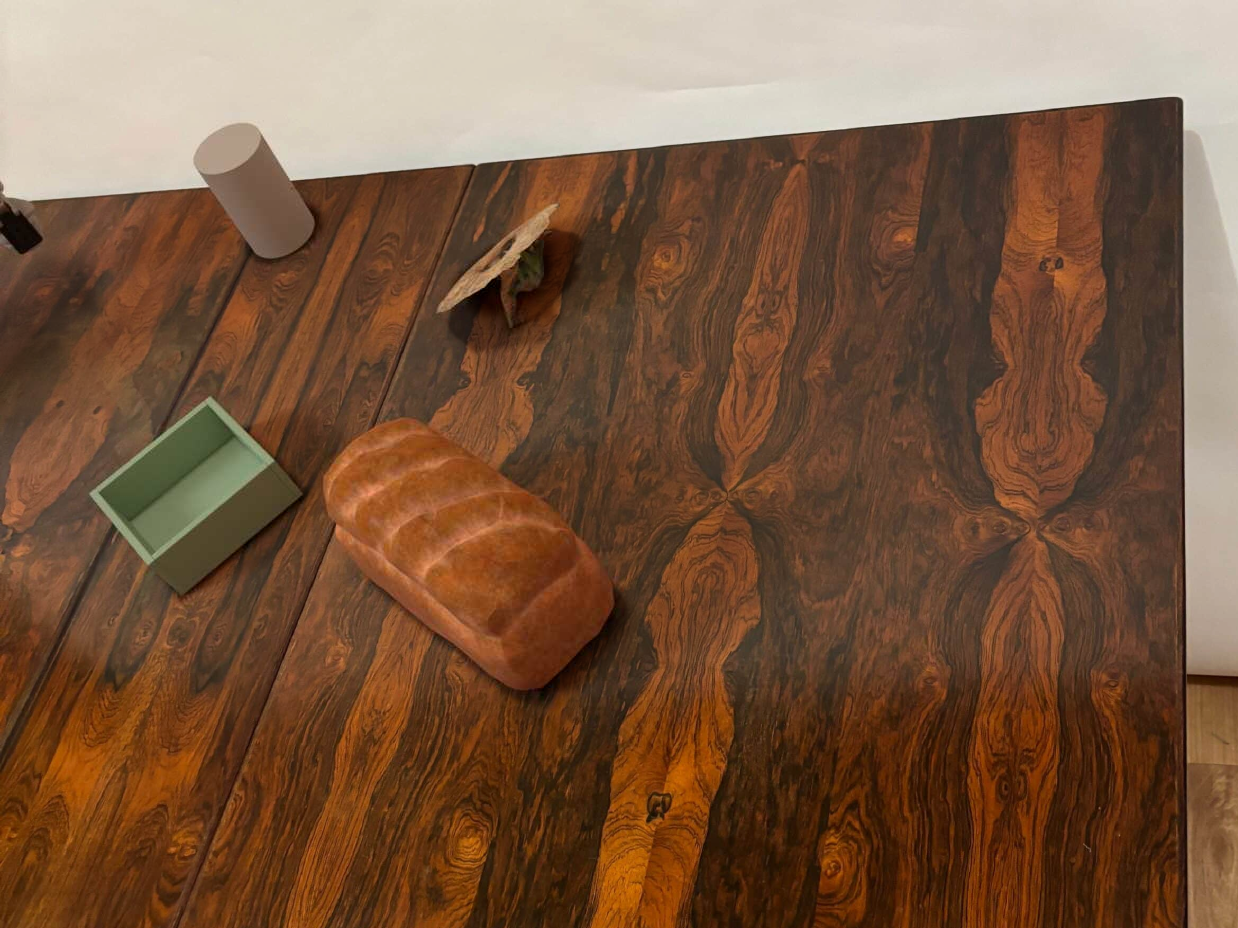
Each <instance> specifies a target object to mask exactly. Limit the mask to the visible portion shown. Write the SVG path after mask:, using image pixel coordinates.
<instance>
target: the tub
mask: <svg viewBox="0 0 1238 928" xmlns="http://www.w3.org/2000/svg"><path fill="white" fill-rule="evenodd" d="M88 495H89V496H90V497H91V498H92V500H93V501H94V502H95V503H96V505H98V507H99V509H101V510H102V511H103V513H104V514H105V515H106V517H107V518H108V519H109V520H110V521H111V523H112V524H113V525H114V526H115V528H116V529H117V530H118V531H119V532H120V534H121V535H122V536H123V537H124V539H125V540H126V541H127V542H128V543H129V544H130V546H131V547H132V549H134V550H135V552H136V553H137V554H138V556H139V557H140V558H141V559H142V560H143V562H144V563H145V564H146V565H147V566H148V567H149V568H150V569H151V570H152V571H153V572H155V573H156V575H158V576H159V577H160V578H161V579H162V580H163V581H165V582H166V583H167V584H168V585H170V587H172V588H173V589H174V590H175V591H177V593H179V594H180V595H181V596H184V595H185V594H186V593H187V592H188V591H190V590H191V589H192V588H193V587H194V586H196V584H198V583H199V582H200V581H202V580H203V579H204V578H205V577H207V575H208V574H210V573H211V572H212V571H213V570H214V569H216V568H217V567H219V565H221V564H222V563H223V562H224V561H225V560H227V559H228V558H229V557H230V556H231V555H232V554H234V553H235V552H236V551H237V550H239V549H240V548H241V547H242V546H243V545H244V544H246V543H247V542H248V541H249V540H250V539H252V538H253V537H254V536H255V535H256V534H258V533H259V532H260V531H261V530H263V529H264V528H265V527H266V526H267V525H268V524H270V523H271V522H272V521H273V520H275V519H276V518H277V517H278V516H279V515H280V514H281V513H282V512H284V511H285V510H287V508H289V507H290V506H291V505H292V504H294V503H295V502H296V501H297V500H298V499H299V498H300V497H302V496H303V495H304V493H303V492H302V490H300V488H299V487H298V485H297V484H295V482H294V481H293V480H292V479H291V477H289V475H288V474H287V473H286V472H285V471H284V469H283V468H282V467H281V466H280V465H279V463H278V462H277V461H276V460H275V459H274V458H273V456H272V455H270V454H269V453H268V452H267V451H266V450H265V449H264V448H263V447H262V446H261V445H260V444H259V443H258V442H257V441H256V439H254V438H253V437H252V436H251V435H250V434H249V433H248V432H247V431H246V430H245V429H244V428H243V427H242V426H241V425H240V424H239V423H238V422H237V420H235V419H234V418H233V417H232V416H231V414H229V413H228V412H227V411H226V410H225V409H224V408H223V407H222V406H221V405H220V404H219V403H218V402H217V401H216V400H215V399H214V398H213V397H212V396H211V395H210V396H208V397H207V398H205V400H203V401H202V402H200V403H199V404H198V405H197V406H196V407H194V408H193V409H192V410H190V411H189V412H188V413H187V414H186V415H185V416H183V417H182V418H181V419H180V420H178V421H177V422H176V423H174V425H172V426H171V427H170V428H168V429H167V430H165V432H163V433H162V434H160V435H159V436H158V437H157V438H156V439H155V440H153V441H152V442H151V443H149V444H148V445H147V446H145V448H144V449H142V450H141V451H140V452H139V453H137V454H136V455H135V456H134V457H132V458H131V459H130V460H128V461H127V462H126V463H124V464H123V465H122V466H121V467H120V468H119V469H117V470H116V471H115V472H114V473H112V475H110V476H108V477H107V478H106V479H105V480H104V481H103V482H101V483H100V484H99V485H98V486H96V487H95V488H94V489H93V490H91V491H90V492H89V493H88Z"/></svg>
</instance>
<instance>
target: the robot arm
mask: <svg viewBox="0 0 1238 928" xmlns="http://www.w3.org/2000/svg"><path fill="white" fill-rule="evenodd" d="M4 189H5V185H4V183H3V182H2V181H1V180H0V198H1V199H0V232H1V233H2V234H3V236H4V237H5V238H6V239H7V240H8V241H9V242H10V244H11V245H12V246H13V247H14V248H15V249H16V250H17V252H16V253H18V254H19V255H25V254H26V253H29V252H28V251H29V250H30V249H32V248H33V247H35V246H36V245H37V244H39V243H40V242H41V243H42V242H43V240H44V237H43V238H42V236H41V235H40V234H39V233H38V231H37V230H36V229H35V228H34V227H33V226H32V224H31V223H30V222H29V221H28V220H27V218H26V217H25V216H24V215H23V214H22V212H21V211H20V210H17V209H16V208H15V207H14V206H13V205H12V204H11V202H10V201H9V200H8V199H7V198H6V197H7V196H6V195H5V194H4V193H3V192H4ZM1 200H2V201H3V202H2V201H1Z"/></svg>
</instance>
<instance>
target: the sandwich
mask: <svg viewBox="0 0 1238 928" xmlns="http://www.w3.org/2000/svg"><path fill="white" fill-rule="evenodd" d="M560 206H561V203H560V202H555V203H552V204H549V205H548V206H546V207H545V208H544V209H542V210H541V211H539V212H537V213H536V214H535V215H534V216H532V217H530V218H529V219H528V220H526V221H525V222H523V223H521V224H520V225H519V226H517V227H516V228H514V230H513V231H511V232H510V233H509V234H507V235H506V236H505V237H503V238H502V239H501V240H500V241H499V242H497V243H496V244H495V246H493V247H492V248H491V250H489V251H488V252H487V253H486V254H485V255H484V256H482V257H481V258H480V259H479V260H478V261H477V262H475V263H474V264H473V265H472V266H471V267H470V268H469V269H468V270H467V271H466V272H465V273H464V274H463V275H462V276H461V277H460V278H459V279H458V281H457V282H456V283H455V284H454V285H453V286H452V288H451V290H450V291H448V293H447V294H446V296H445V297H444V299H443V300H441V302H440V303H439V304H438V306H437V308H436V313H444V312H446V311H449V310H451V309H452V308H453V307H455V306H456V305H457V304H459V303H460V302H461V301H462V300H464V299H466V298H468V297H471V296H472V295H473V294H475V293H477V292H478V291H480V290H482V289H483V288H485V287H486V286H487V285H488V283H490V281H491V280H492V279H496V280H498V281H501V285H500V298H501V299H500V300H501V304H502V308H503V311H504V315H505V317H506V319H507V321H508V327H509V328H510V329H512V328H513V327H514V326H515V321H516V315H515V314H516V313H515V312H516V308H517V294H518V293H519V292H531V291H534V290H536V289H538V288H539V287H540V286H541V283H542V279H543V278H544V274H545V273H544V267H545V266H544V258H543V257H544V256H543V255H544V254H543V253H544V244H545V241H544V239H541V240H539V237H540V236H541V235H542V238H547V237H551V236H553V235H554V231H552V230H546V229H547V228H548V227H549V224H550V223H551V221H550V218H549V217H550V216H551V215H552V214H553V213H554V211H556V210H557V209H558V207H560ZM544 230H546V231H544ZM533 243H534V245H535V246H533ZM526 249H528V250H527V252H526V251H525V250H526Z"/></svg>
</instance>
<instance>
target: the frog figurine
mask: <svg viewBox="0 0 1238 928" xmlns="http://www.w3.org/2000/svg"><path fill="white" fill-rule="evenodd" d="M5 197H6V198H7V199H8V200H9V201H10V202H11V204H12V205H13V206H14V207H15V208H16V209H17V210H20V211H21V212H22V214H23V215H24V216H25V217H26V218H27V220H28V221H29V222H30V223H31V224H32V226H33V227H34V228H35V229H36V230H37V231H38V233H39V234H40V235H41V236H42V238H43V239H44V228H43V225H42V222H41V221H40V220H39V218H38V217H37V216H36V215H37V213H36V206H35V205H34V204H33V203H32V202H30V201H28V200H26V199H20V198H17V197H7V196H5ZM0 199H1V198H0ZM1 201H2V200H1ZM2 202H3V201H2ZM0 244H1V245H3V246H4V247H6V248H7V249H8V250H10V251H13V252H15V253H18V252H17V250H16V249H15V248H14V247H13V246H12V245H11V244H10V242H9V241H8V240H7V239H6V238H5V237H4V236H3V234H2V233H1V232H0ZM41 244H42V242H40V243H39V244H37V245H36V246H35V247H33V248H32V249H30V250H29V251H28V252H27V253H29V252H30V253H31V252H33V251H35V250H36V249H38V248H39V247H40V246H41Z"/></svg>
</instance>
